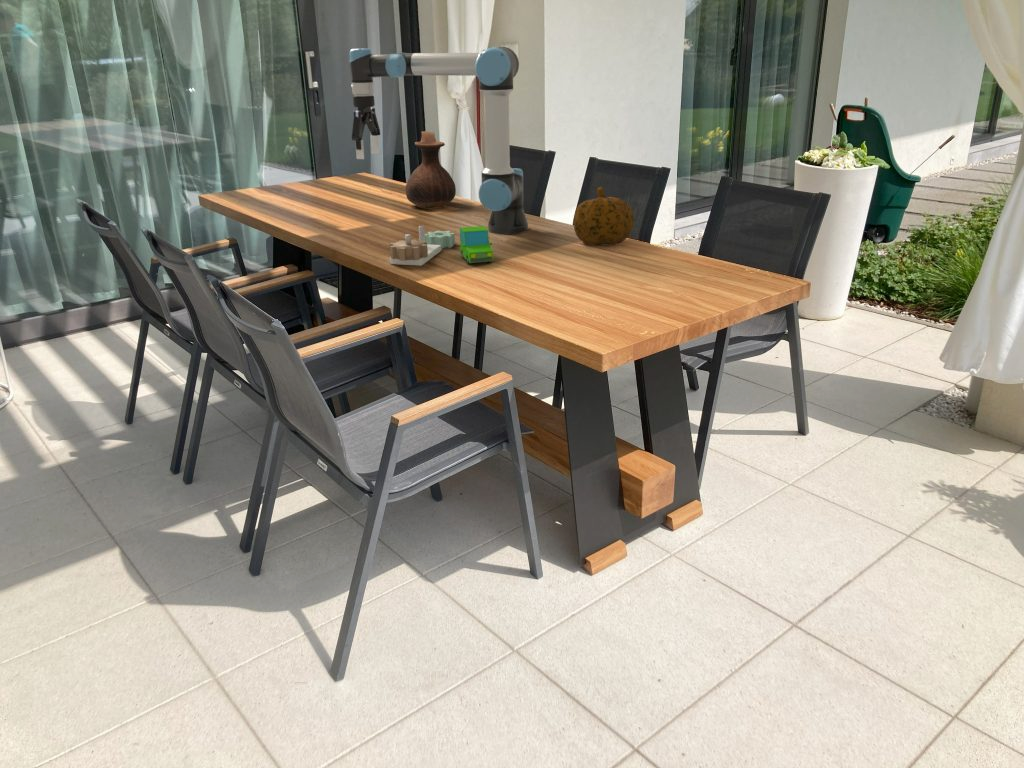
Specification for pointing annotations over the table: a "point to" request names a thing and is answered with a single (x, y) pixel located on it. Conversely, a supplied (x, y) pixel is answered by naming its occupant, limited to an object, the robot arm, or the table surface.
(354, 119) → the robot arm
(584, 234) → the decorative pumpkin
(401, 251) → the gear board
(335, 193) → the table surface
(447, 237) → the loose gear
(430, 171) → the brown wooden bulbous vase
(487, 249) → the toy car
